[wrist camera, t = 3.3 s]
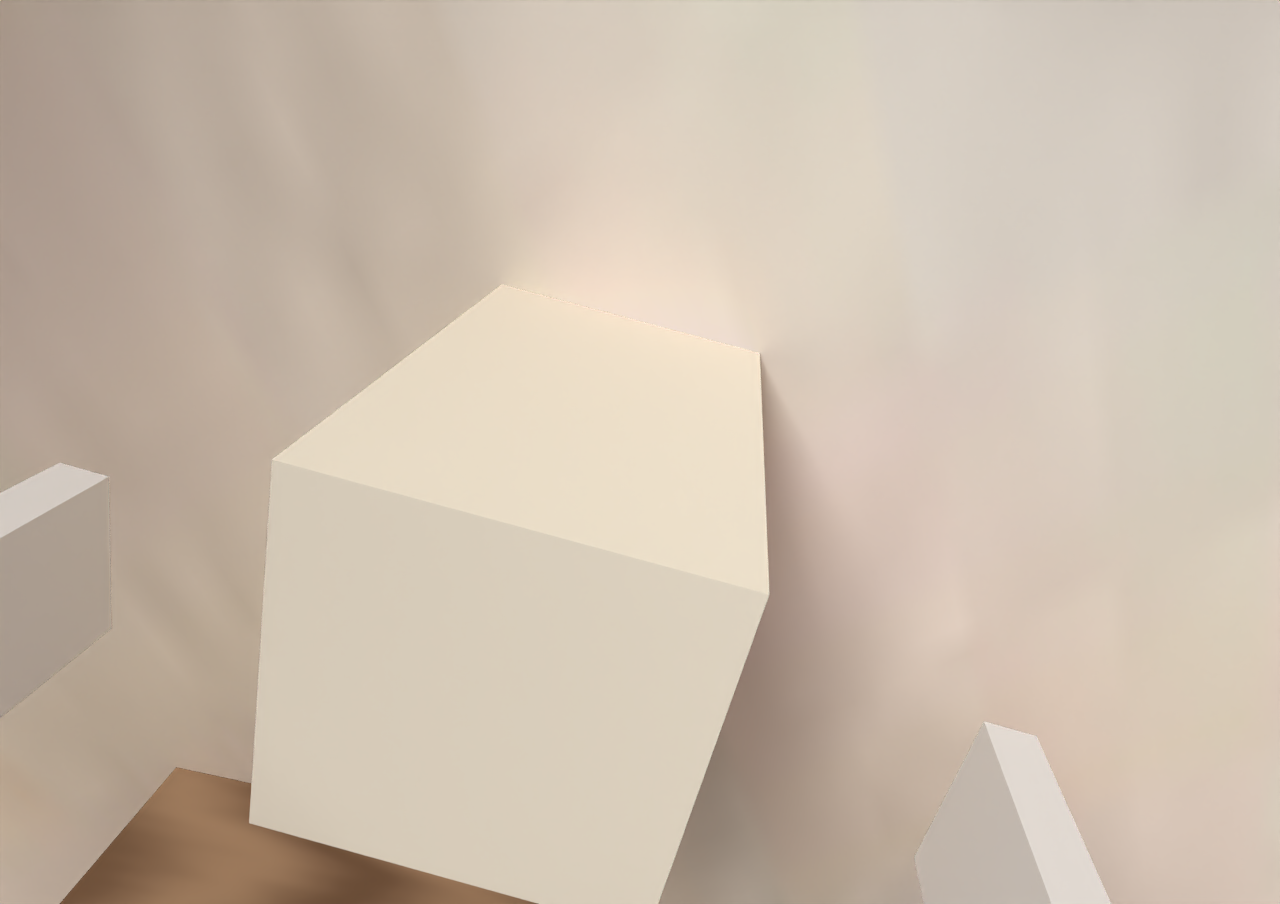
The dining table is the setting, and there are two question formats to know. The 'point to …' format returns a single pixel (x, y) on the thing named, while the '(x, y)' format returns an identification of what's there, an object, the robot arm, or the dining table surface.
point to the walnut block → (245, 859)
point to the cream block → (514, 602)
